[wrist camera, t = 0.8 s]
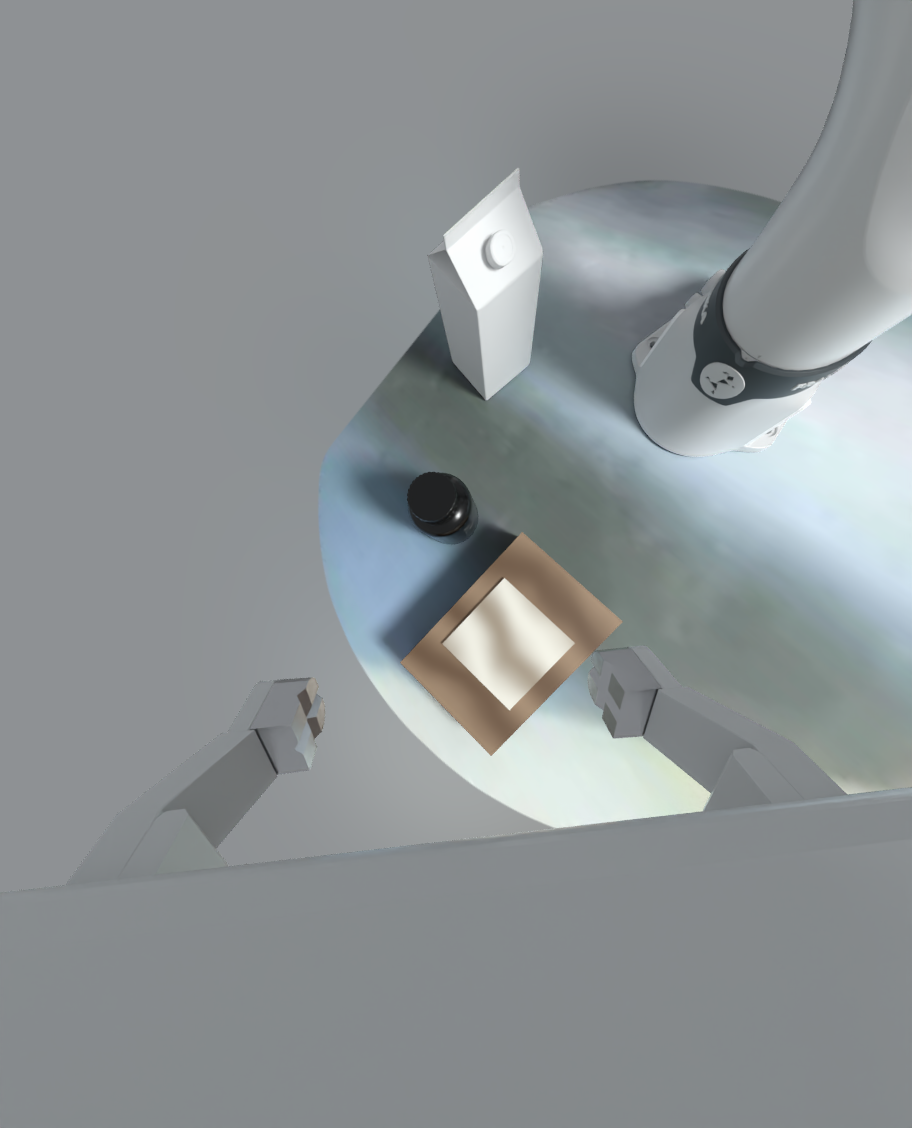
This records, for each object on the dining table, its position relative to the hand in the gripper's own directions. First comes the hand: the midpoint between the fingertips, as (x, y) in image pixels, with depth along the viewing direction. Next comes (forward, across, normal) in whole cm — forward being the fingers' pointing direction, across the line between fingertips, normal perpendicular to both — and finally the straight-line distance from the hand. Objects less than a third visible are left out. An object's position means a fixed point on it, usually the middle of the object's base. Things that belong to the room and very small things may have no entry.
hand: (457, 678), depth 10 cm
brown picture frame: (+25, -7, +20) cm, 33 cm away
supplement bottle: (+34, -2, +8) cm, 35 cm away
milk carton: (+43, -8, -10) cm, 45 cm away
